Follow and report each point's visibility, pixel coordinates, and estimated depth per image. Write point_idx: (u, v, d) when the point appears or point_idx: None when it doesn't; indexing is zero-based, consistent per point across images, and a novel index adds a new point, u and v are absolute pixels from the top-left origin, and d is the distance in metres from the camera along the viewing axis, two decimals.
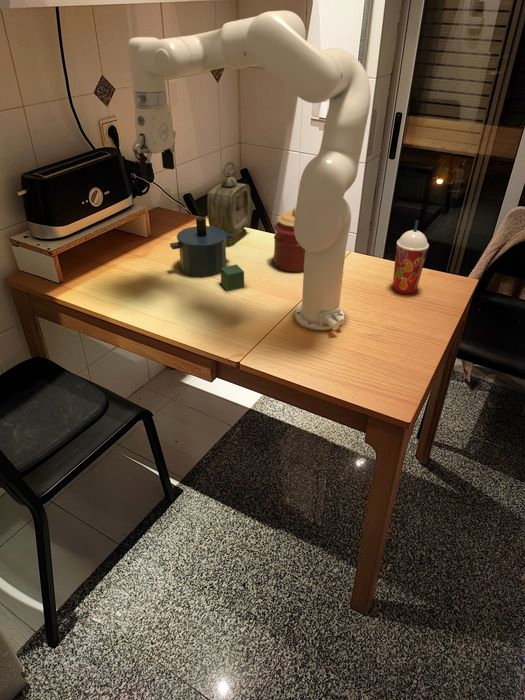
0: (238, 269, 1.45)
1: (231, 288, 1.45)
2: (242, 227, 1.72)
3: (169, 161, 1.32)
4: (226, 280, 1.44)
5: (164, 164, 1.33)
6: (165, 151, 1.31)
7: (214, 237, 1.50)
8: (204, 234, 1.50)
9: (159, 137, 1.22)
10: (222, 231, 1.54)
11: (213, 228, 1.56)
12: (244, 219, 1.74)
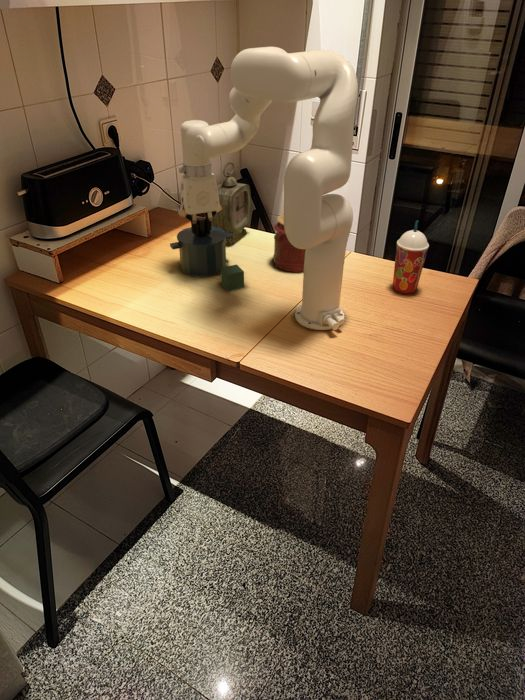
0: (238, 269, 1.45)
1: (231, 288, 1.45)
2: (242, 227, 1.72)
3: (206, 227, 1.50)
4: (226, 280, 1.44)
5: None
6: None
7: (214, 237, 1.50)
8: (204, 234, 1.50)
9: (196, 202, 1.43)
10: (222, 231, 1.54)
11: (213, 228, 1.56)
12: (244, 219, 1.74)
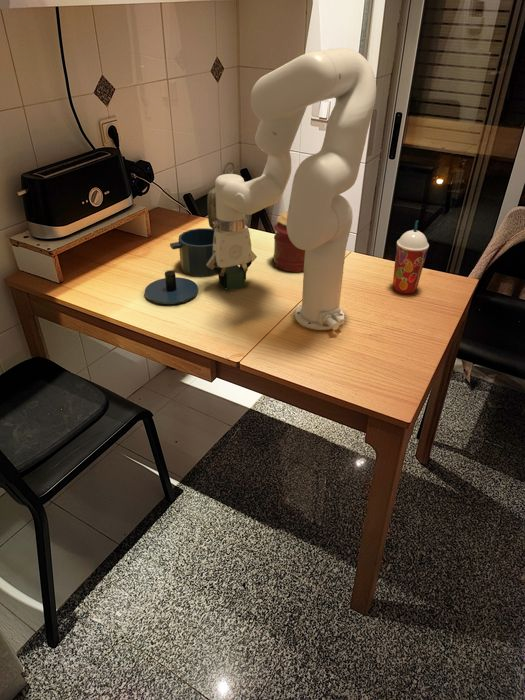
0: (238, 269, 1.45)
1: (231, 288, 1.45)
2: None
3: None
4: (226, 280, 1.44)
5: None
6: None
7: (184, 292, 1.41)
8: (174, 289, 1.42)
9: (228, 255, 1.39)
10: (193, 284, 1.45)
11: (184, 280, 1.47)
12: None
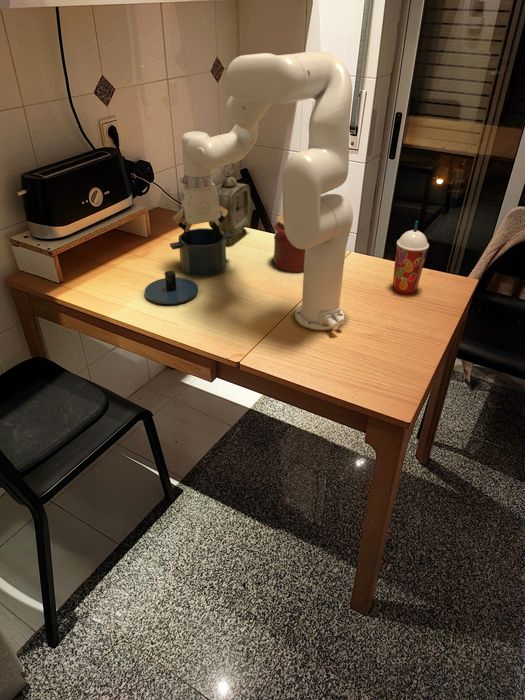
0: None
1: None
2: (242, 227, 1.72)
3: (214, 232, 1.52)
4: None
5: (213, 234, 1.54)
6: (213, 224, 1.52)
7: (184, 292, 1.41)
8: (174, 289, 1.42)
9: (196, 212, 1.44)
10: (193, 284, 1.45)
11: (184, 280, 1.47)
12: (244, 219, 1.74)
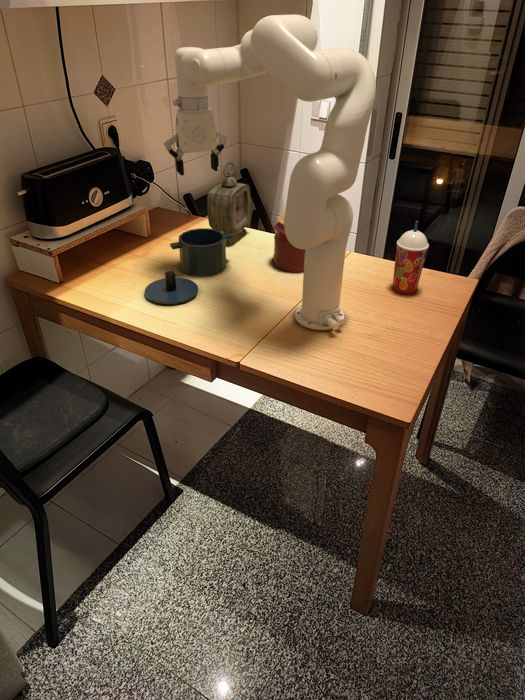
0: None
1: None
2: (242, 227, 1.72)
3: (213, 163, 1.41)
4: None
5: (211, 165, 1.43)
6: (212, 153, 1.41)
7: (184, 292, 1.41)
8: (174, 289, 1.42)
9: (191, 139, 1.33)
10: (193, 284, 1.45)
11: (184, 280, 1.47)
12: (244, 219, 1.74)
